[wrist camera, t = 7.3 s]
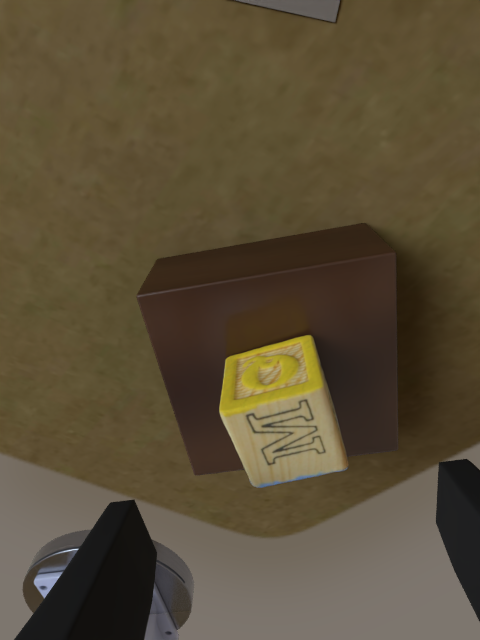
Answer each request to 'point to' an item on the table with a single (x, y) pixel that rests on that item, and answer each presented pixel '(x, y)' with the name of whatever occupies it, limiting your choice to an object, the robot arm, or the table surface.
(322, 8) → the platform
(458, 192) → the table surface
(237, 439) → the alphabet block
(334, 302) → the stand
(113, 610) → the robot arm
